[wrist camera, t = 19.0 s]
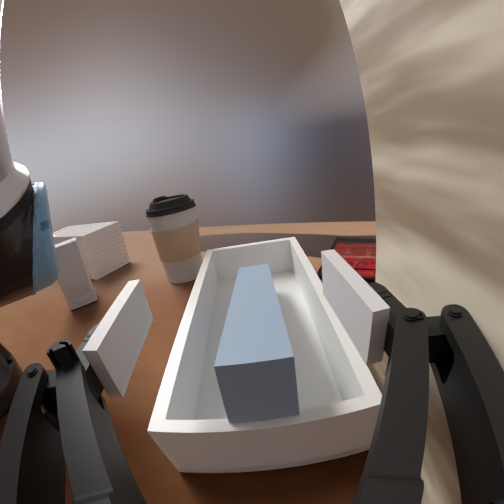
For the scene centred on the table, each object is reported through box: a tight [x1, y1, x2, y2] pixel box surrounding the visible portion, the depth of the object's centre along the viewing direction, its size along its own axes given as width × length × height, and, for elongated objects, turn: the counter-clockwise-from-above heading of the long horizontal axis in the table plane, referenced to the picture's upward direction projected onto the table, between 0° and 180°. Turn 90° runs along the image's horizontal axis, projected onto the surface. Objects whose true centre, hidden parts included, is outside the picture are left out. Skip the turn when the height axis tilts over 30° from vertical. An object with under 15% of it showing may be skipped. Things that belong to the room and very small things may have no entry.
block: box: [214, 264, 300, 423], centre depth 26 cm, size 4×26×4 cm, turn 2°
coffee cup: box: [146, 194, 202, 284], centre depth 49 cm, size 9×9×15 cm
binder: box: [318, 237, 376, 282], centre depth 43 cm, size 16×2×21 cm
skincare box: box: [55, 237, 97, 310], centre depth 44 cm, size 6×4×12 cm
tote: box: [147, 237, 382, 473], centre depth 30 cm, size 14×33×6 cm, turn 1°
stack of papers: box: [53, 221, 130, 280], centre depth 66 cm, size 32×11×11 cm, turn 62°
